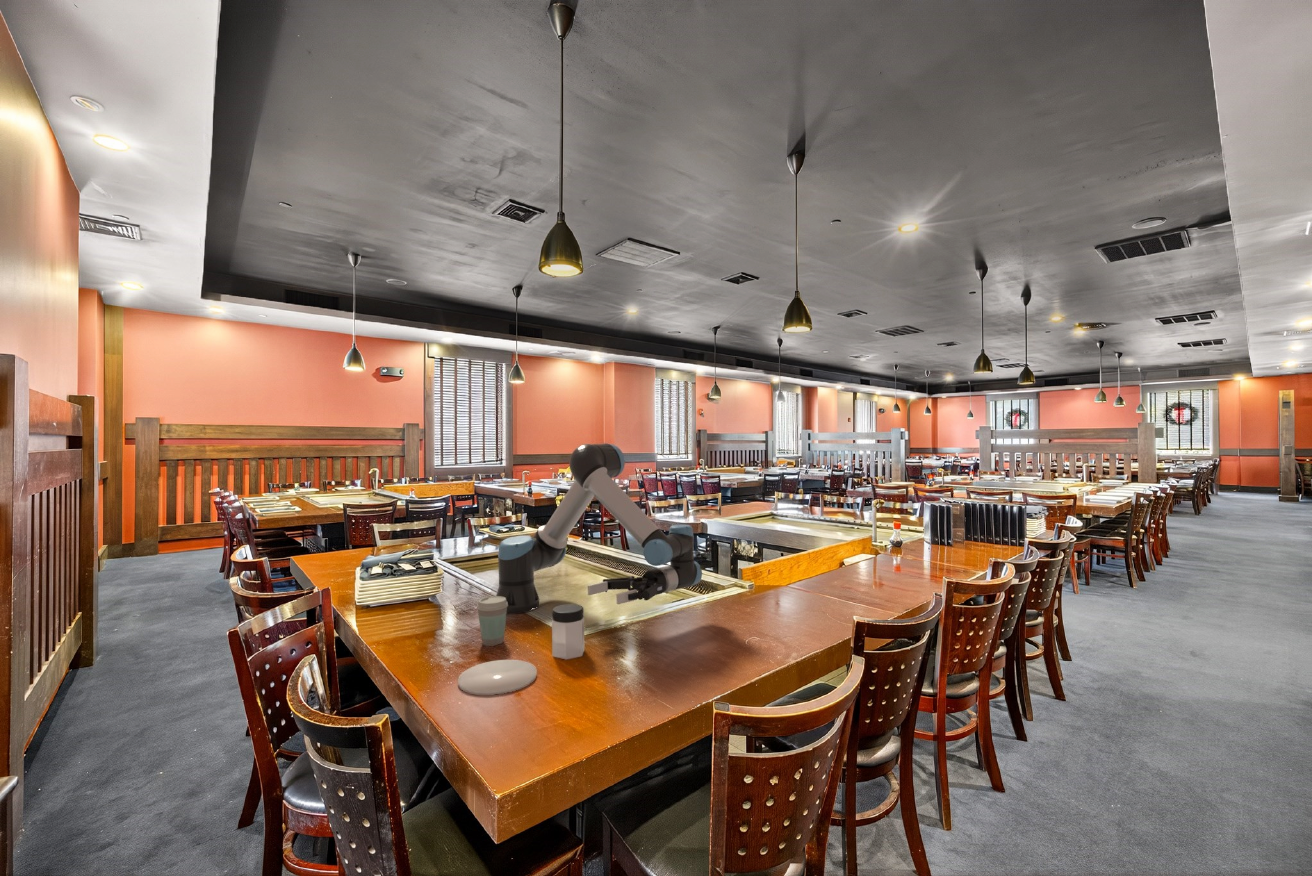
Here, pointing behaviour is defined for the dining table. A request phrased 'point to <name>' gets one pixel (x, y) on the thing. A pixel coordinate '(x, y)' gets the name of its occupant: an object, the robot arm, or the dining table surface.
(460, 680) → the saucer
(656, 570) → the robot arm
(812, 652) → the dining table surface
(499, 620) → the coffee cup
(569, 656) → the jar
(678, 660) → the dining table surface
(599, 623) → the dining table surface
